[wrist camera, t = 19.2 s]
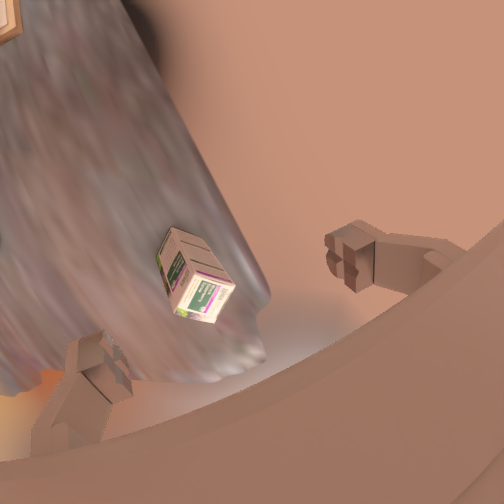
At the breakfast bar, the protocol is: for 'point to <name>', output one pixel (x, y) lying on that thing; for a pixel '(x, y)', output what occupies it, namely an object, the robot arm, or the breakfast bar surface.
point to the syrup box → (193, 277)
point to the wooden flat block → (9, 20)
